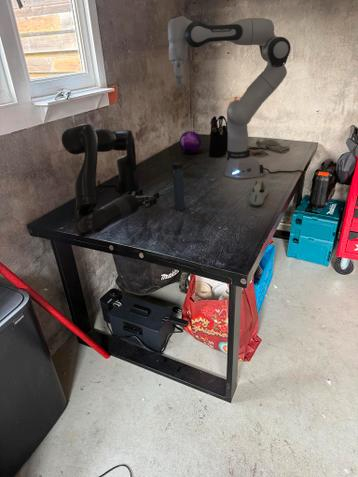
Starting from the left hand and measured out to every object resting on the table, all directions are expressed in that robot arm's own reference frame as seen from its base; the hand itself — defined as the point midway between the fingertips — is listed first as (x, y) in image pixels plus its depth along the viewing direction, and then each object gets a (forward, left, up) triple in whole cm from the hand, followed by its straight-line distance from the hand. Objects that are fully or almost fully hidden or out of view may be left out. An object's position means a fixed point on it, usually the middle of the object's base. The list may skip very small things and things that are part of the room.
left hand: (150, 193), depth 132 cm
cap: (0, +20, +6) cm, 21 cm away
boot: (-41, +130, -15) cm, 137 cm away
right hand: (-23, +58, +33) cm, 70 cm away
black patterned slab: (-26, +108, -15) cm, 112 cm away
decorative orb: (-46, +101, -15) cm, 112 cm away
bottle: (0, +20, -15) cm, 25 cm away
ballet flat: (+27, +49, -15) cm, 58 cm away
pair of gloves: (-2, +126, -15) cm, 126 cm away
